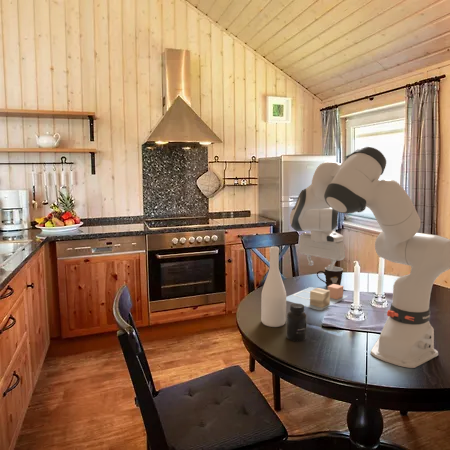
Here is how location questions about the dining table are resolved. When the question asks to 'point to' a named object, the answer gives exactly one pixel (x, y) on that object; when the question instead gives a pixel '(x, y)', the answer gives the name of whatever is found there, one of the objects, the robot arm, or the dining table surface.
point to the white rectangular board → (304, 298)
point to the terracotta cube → (335, 291)
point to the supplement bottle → (296, 323)
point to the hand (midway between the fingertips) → (320, 267)
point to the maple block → (319, 297)
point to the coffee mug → (332, 276)
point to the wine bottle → (273, 294)
